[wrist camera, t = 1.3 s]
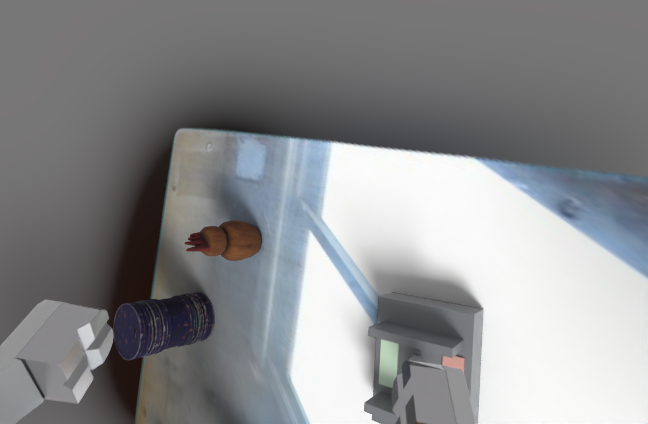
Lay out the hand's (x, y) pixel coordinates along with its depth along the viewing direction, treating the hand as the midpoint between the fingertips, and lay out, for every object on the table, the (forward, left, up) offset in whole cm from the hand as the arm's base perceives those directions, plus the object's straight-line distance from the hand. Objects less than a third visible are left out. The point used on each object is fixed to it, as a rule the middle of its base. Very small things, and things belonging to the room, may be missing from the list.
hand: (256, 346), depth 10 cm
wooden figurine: (+43, +1, -41) cm, 60 cm away
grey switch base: (+10, +14, -41) cm, 44 cm away
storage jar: (+59, +18, -41) cm, 74 cm away
